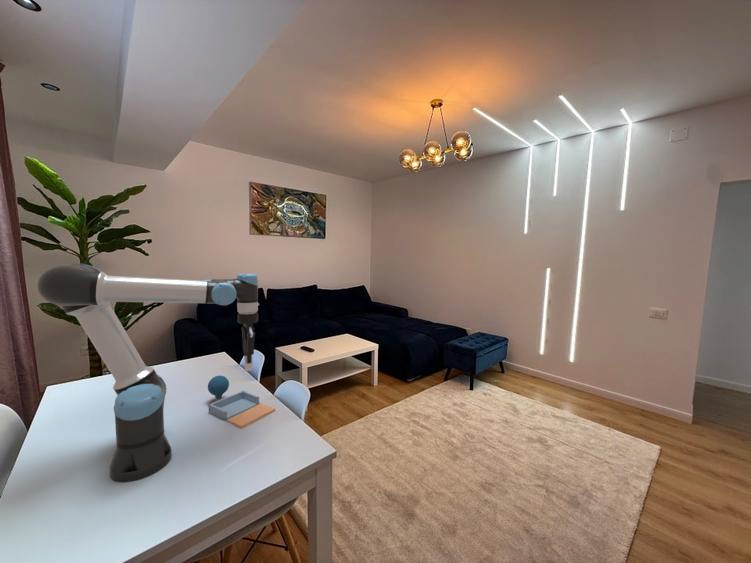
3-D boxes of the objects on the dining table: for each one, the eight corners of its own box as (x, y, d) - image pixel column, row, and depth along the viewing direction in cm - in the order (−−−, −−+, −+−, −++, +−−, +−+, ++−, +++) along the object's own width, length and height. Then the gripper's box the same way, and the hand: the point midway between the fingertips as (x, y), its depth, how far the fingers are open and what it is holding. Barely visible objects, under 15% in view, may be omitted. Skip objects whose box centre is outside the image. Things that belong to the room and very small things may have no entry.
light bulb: (223, 407, 130) (222, 380, 129) (204, 406, 130) (203, 379, 129) (232, 398, 138) (232, 372, 137) (214, 397, 138) (214, 372, 137)
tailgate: (225, 422, 118) (241, 429, 113) (225, 419, 118) (241, 426, 113) (259, 405, 132) (275, 411, 126) (259, 402, 132) (275, 408, 126)
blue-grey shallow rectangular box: (224, 421, 118) (224, 412, 118) (208, 413, 124) (208, 404, 124) (259, 405, 132) (259, 396, 132) (243, 398, 138) (243, 390, 137)
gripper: (261, 314, 117) (262, 373, 118) (253, 309, 127) (254, 363, 129) (241, 316, 112) (241, 377, 114) (234, 310, 123) (235, 367, 125)
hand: (248, 370), depth 122 cm, fingers closed
